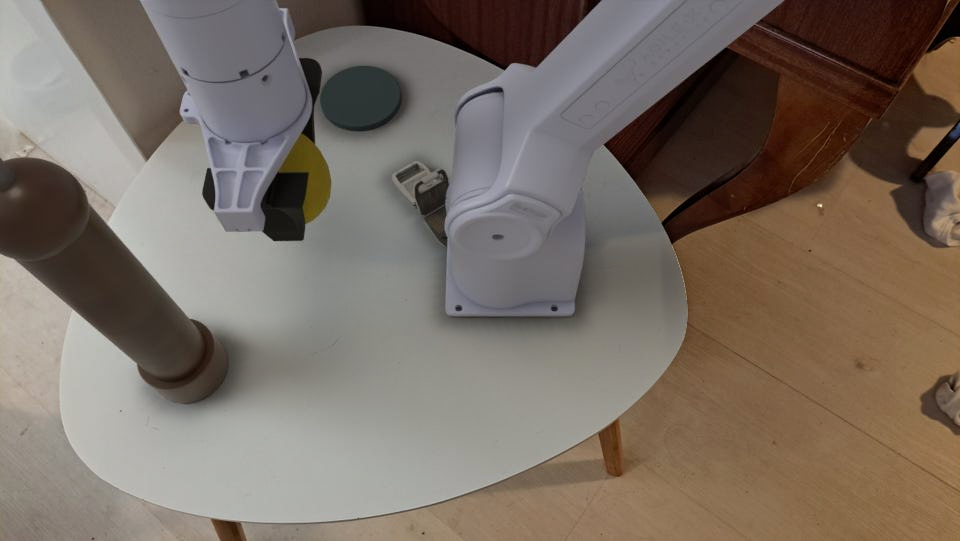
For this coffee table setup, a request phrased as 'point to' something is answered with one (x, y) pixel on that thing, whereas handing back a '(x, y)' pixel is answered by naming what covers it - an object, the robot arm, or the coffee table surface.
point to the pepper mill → (103, 279)
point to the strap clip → (426, 196)
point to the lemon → (310, 175)
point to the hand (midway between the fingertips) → (294, 196)
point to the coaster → (360, 98)
